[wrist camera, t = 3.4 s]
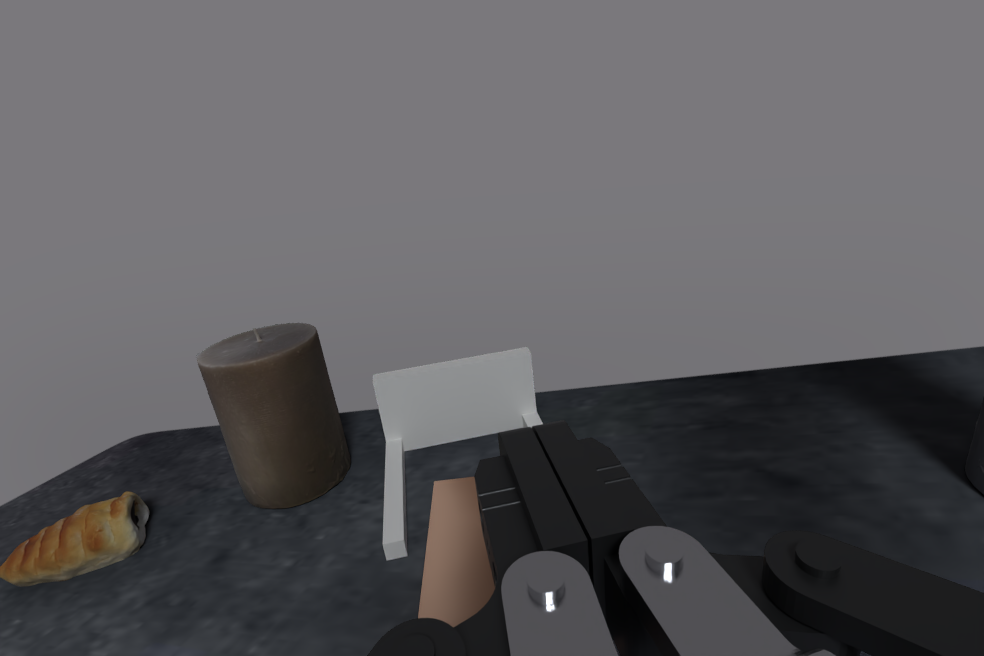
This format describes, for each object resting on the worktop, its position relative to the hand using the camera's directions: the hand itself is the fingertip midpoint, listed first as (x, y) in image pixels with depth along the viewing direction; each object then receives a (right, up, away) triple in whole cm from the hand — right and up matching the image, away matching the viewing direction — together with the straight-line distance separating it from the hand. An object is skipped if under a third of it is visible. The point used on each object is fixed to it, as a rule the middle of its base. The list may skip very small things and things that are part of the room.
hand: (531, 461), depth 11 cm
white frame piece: (-2, -10, +32) cm, 34 cm away
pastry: (-33, -16, +29) cm, 47 cm away
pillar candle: (-19, -11, +36) cm, 42 cm away
